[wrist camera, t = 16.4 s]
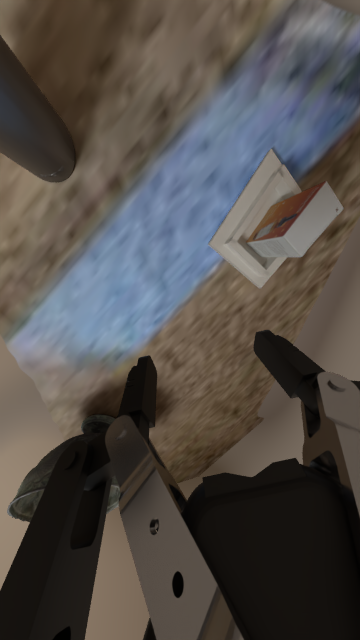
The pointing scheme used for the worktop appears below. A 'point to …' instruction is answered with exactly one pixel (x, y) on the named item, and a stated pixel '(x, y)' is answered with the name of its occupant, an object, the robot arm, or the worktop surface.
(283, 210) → the small box
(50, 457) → the decorative bowl
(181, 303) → the worktop surface
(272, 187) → the off-white tray
